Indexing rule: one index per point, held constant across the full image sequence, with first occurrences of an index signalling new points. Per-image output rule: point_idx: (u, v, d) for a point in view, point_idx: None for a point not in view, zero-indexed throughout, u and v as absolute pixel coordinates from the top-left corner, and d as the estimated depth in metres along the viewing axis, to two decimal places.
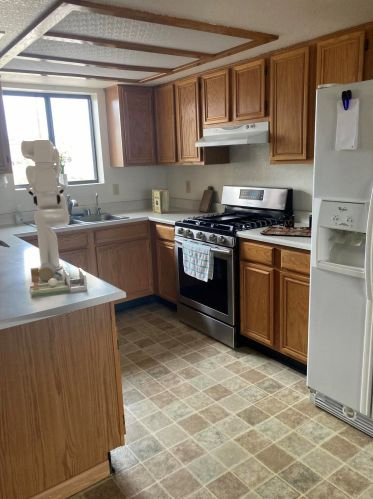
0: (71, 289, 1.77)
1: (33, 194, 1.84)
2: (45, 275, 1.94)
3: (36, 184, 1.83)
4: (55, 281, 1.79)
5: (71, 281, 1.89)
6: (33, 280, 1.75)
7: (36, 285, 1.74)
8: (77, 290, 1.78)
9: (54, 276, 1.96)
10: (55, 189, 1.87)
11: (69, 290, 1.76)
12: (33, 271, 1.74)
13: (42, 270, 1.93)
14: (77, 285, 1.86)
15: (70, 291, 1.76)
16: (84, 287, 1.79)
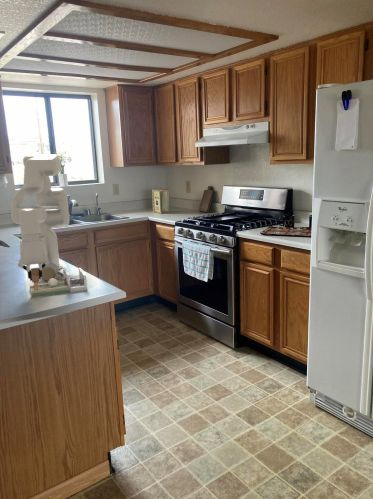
0: (71, 289, 1.77)
1: (27, 270, 1.73)
2: (47, 275, 1.94)
3: (22, 257, 1.71)
4: (55, 281, 1.79)
5: (71, 281, 1.89)
6: (33, 280, 1.75)
7: (36, 285, 1.74)
8: (77, 290, 1.78)
9: (56, 276, 1.96)
10: (43, 261, 1.75)
11: (69, 290, 1.76)
12: (33, 271, 1.74)
13: (44, 270, 1.93)
14: (77, 285, 1.86)
15: (70, 291, 1.76)
16: (84, 287, 1.79)
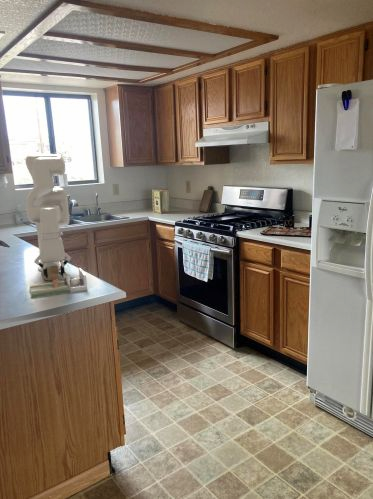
0: (71, 289, 1.77)
1: (43, 267, 1.76)
2: (48, 275, 1.94)
3: (42, 255, 1.74)
4: (73, 282, 1.82)
5: None
6: (52, 277, 1.78)
7: (55, 282, 1.77)
8: (77, 290, 1.78)
9: None
10: (62, 259, 1.78)
11: (69, 290, 1.76)
12: (52, 269, 1.77)
13: None
14: None
15: (70, 291, 1.76)
16: (84, 287, 1.79)
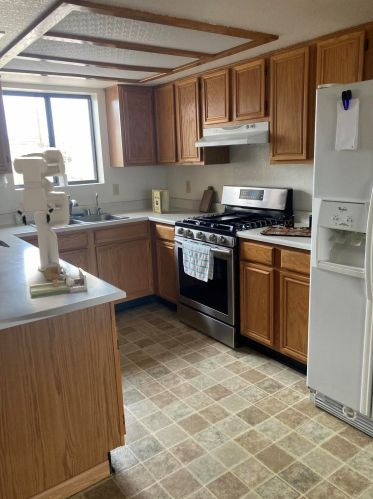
0: (71, 289, 1.77)
1: (22, 214, 1.80)
2: (50, 274, 1.94)
3: (25, 203, 1.79)
4: None
5: None
6: (52, 277, 1.78)
7: (55, 282, 1.77)
8: (77, 290, 1.78)
9: (59, 276, 1.96)
10: (44, 208, 1.83)
11: (69, 290, 1.76)
12: (52, 269, 1.77)
13: (47, 270, 1.93)
14: (77, 285, 1.86)
15: (70, 291, 1.76)
16: (84, 287, 1.79)
